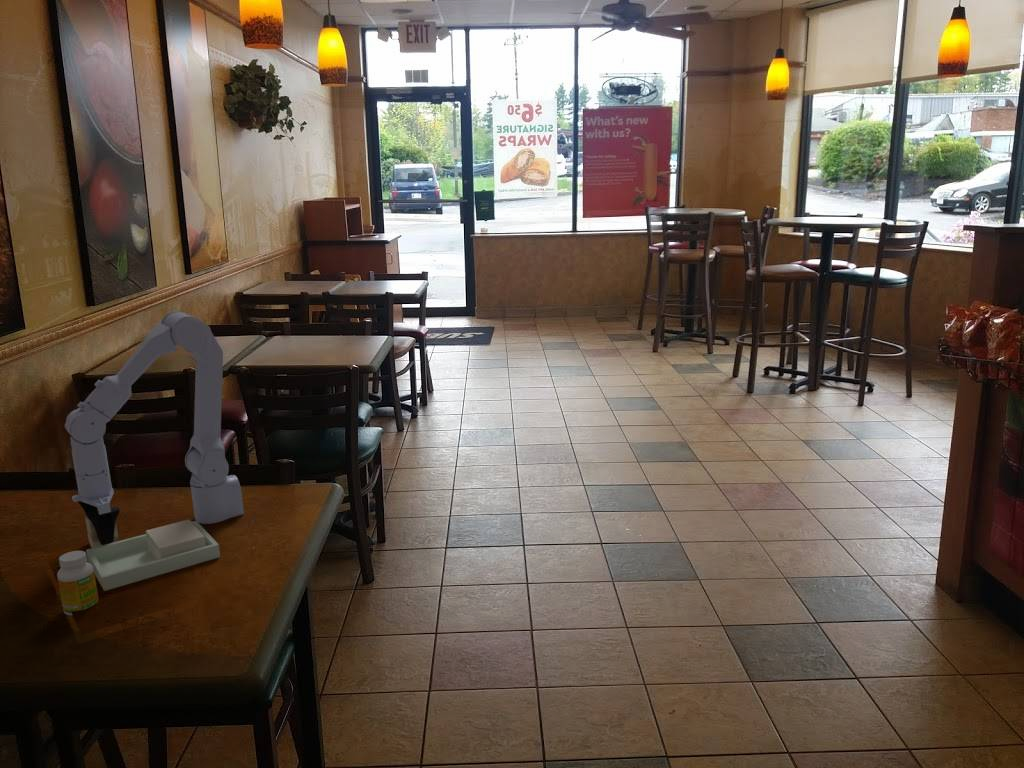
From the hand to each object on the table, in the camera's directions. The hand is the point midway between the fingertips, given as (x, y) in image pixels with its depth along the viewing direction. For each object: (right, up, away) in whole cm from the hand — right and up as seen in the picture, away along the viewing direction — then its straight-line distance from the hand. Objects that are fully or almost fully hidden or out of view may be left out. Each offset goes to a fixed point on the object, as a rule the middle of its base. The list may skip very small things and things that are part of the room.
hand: (102, 536), depth 159 cm
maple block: (0, -3, +1) cm, 3 cm away
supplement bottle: (+7, -8, -21) cm, 24 cm away
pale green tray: (+13, -4, -6) cm, 15 cm away
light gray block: (+16, -2, -4) cm, 17 cm away
